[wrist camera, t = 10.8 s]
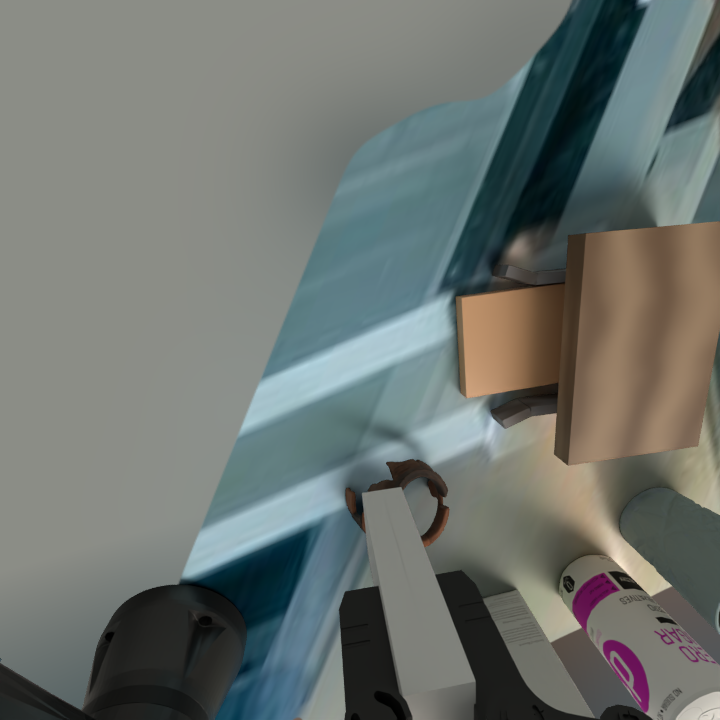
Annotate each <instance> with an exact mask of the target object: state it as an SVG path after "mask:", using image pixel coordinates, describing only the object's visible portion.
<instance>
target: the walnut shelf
mask: <svg viewBox="0 0 720 720" xmlns="http://www.w3.org/2000/svg"><path fill="white" fill-rule="evenodd" d="M492 275H493V276H496V277H500V278H503V279H506V280H510V281H513V282H517V283H521V284H531V285H541V284H550V283H560V282H565V295H564V310H563V325H562V341H561V356H560V372H559V387H558V393H554V394H546V395H539V396H531V397H523V398H518V400H517V399H514V400H512V401H510V402H508V403H506V404H504V405H502V406H500V407H498V408H496V409H494V410H491V413H492V416H493V419H495V420H496V421H497V422H498V423H499V424H500V425H501V426H503V427H504V428H505V429H506V428H508V427H510V426H512V425H514V424H517V423H519V422H521V421H523V420H525V419H527V418H529V417H531V416H538V415H545V414H553V413H557V418H556V433H555V449H554V455H556V456H557V457H558V458H559V459H561V460H562V461H563V462H564V463H566V464H567V465H568V466H569V465H575V464H582V463H589V462H596V461H602V460H609V459H616V458H622V457H629V456H636V455H642V454H649V453H656V452H663V451H669V450H676V449H683V448H689V447H696V446H698V443H699V438H700V433H701V427H702V422H703V416H704V411H705V406H706V400H707V395H708V389H709V384H710V378H711V373H712V368H713V362H714V357H715V351H716V346H717V340H718V335H719V330H720V221H719V222H708V223H697V224H686V225H674V226H663V227H652V228H641V229H630V230H618V231H607V232H596V233H585V234H576V235H568V248H567V264H566V269H557V270H547V271H537V272H531V271H528V270H524V269H521V268H518V267H514V266H511V265H495V268H494V271H493V274H492Z"/></svg>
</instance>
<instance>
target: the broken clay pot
mask: <svg viewBox="0 0 720 720" xmlns="http://www.w3.org/2000/svg"><path fill="white" fill-rule="evenodd" d="M386 465H387V466H388V467H389V469H390V472H391V475H392V479H393V480H383V481H381V482H379V483H377V484H372V485H371V486H370V488H369V489H368V492H371V491H378V490H385V489H391V488H398V487H401V488H402V490H404V488H405V487H406V485H407V484H409V483H410V482H411V481H413V480H414V479H416V478H418V477H426V478H428V479H430V481H428V486H429V490H430V493H431V495H432V496H433V497H436V498H437V499H438V507H437V512H436V516H435V518H434V521H433V523H432V525H431V527H430V528H429V530H428V531H427V532H426V533H425V534H424V535H422V536H420V537H421V540H422V542H423V545H424V547H426V546H429V545H430V544H431V543H433V542H434V541H435V540H436V539H437V538H438V537H439V536H440V534H441V533H442V531H443V530H444V527H445V525H446V523H447V520H448V516H449V507H447V506H444V505H443V497H446V496H447V492H448V488H447V486H446V484H445V482H444V481H443V480H442V478H441V477H440V476H439V475H438V474H437V473H436V472H434V471H433V470H432V469H431V468H430V466H428V465H427V464H426V463H424V462H422V461H420V460H416V461H415V460H414V459H410V460H407V461H403V462H386ZM346 503H347V506H348V509H349V511H350V513H351V515H352V517H353V519H354V520H355V521H356V522H357V524H358V525H359V526H360V528H361V529H362V530H363V531H364V532H365V533H366V528H365V518H364V512H363V513H362V516H360V515H359V514H358V513H357V511H356V494H355V492H353V491H351V489H350V488H346Z"/></svg>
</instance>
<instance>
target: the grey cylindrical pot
mask: <svg viewBox="0 0 720 720" xmlns="http://www.w3.org/2000/svg"><path fill="white" fill-rule="evenodd" d="M619 524H620V527H619V528H620V531H621V534H622V535H623V537H624V539H625V540H626V541H627V542H628V543H629V544H630V545H631V546H632V547H633V548H634V549H635V550H636V551H637V552H638V553H639V554H640V555H641V556H642V557H643V558H644V559H645V560H647V561H648V562H649V563H650V564H651V565H653V566H654V567H655V568H656V570H657V572H658V573H659V574H660V575H662V576H663V578H664V579H665V580H666V581H668V582H669V583H670V584H671V585H672V586H673V587H674V588H675V589H676V590H677V591H678V592H679V593H680V594H681V595H682V597H683V598H684V599H685V600H686V601H687V602H688V603H690V604H691V605H692V606H693V608H694V609H695V610H696V611H697V612H698V613H699V614H700V615H701V616H702V617H703V618H704V619H705V620H706V621H707V622H708V623H709V624H710V625H711V626H712V627H713V628H714V629H715V630H716V631H717V632H718V634H720V515H718V514H716V513H714V512H712V511H711V510H709V509H707V508H705V507H703V508H702V507H701V506H700V505H699V504H696V503H695V502H694V501H692V500H690V499H689V498H687V497H685V496H683V495H681V494H679V493H677V492H675V491H674V490H671V489H668V488H661V487H657V488H652V489H648V490H646V491H644V492H642V493H640V494H638V495H637V496H636V497H634V498H633V499H632V500H631V501H630V502H629V503H628V504H627V506H626V507H625V509H624V510H623V512H622V515H621V518H620V521H619Z"/></svg>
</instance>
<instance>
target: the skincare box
mask: <svg viewBox="0 0 720 720" xmlns="http://www.w3.org/2000/svg"><path fill="white" fill-rule="evenodd" d="M483 600H484V604H485V605H486V606H487V608H488V610H489V612H490V614H491V617H492V619H493V620H494V622H495V624H496V626H497V628H498V630H499V632H500V634H501V636H502V638H503V640H504V642H505V644H506V646H507V648H508V650H509V652H510V654H511V656H512V658H513V660H514V662H515V664H516V666H517V668H518V670H519V672H520V674H521V676H522V678H523V679H524V681H525V683H526V684H527V686H528V687H529V688H530V689H531V691H532V692H533V693H534V694H535V695H536V696H537V697H538V698H540V699H541V700H542V701H543V702H545V703H546V704H548V705H549V706H551V707H553V708H555V709H557V710H560V711H563V712H566V713H570V714H575V715H580V716H585V717H590V718H595V717H594V715H593V714H592V712H591V711H590V709H589V707H588V706H587V704H586V702H585V701H584V699H583V697H582V695H581V694H580V692H579V690H578V689H577V687H576V685H575V684H574V682H573V681H572V679H571V677H570V676H569V674H568V673H567V670H566V669H565V667H564V665H563V664H562V662H561V660H560V659H559V657H558V655H557V654H556V652H555V650H554V649H553V647H552V646H551V644H550V642H549V641H548V639H547V637H546V636H545V634H544V632H543V630H542V629H541V627H540V625H539V624H538V622H537V621H536V619H535V617H534V616H533V614H532V612H531V611H530V609H529V607H528V605H527V604H526V602H525V600H524V599H523V597H522V596H521V594H520V592H519V591H518V590H514V591H510V592H506V593H502V594H498V595H494V596H490V597H486V598H483Z"/></svg>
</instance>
